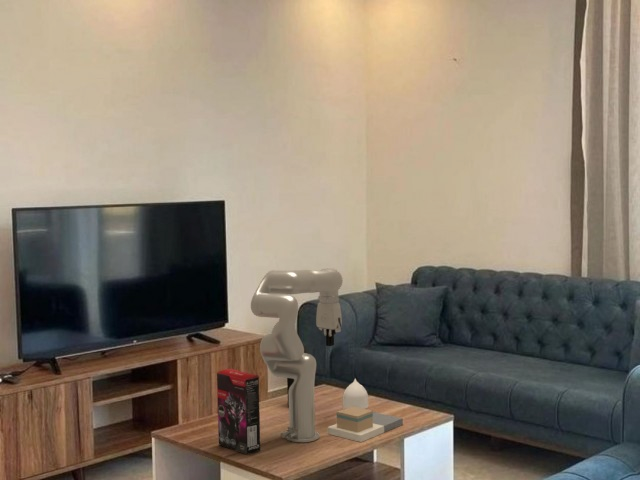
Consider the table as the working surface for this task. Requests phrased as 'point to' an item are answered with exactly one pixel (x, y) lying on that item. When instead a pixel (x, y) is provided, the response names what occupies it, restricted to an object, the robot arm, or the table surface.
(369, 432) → the grey and cream slab
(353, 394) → the teardrop
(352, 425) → the carton
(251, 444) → the graphics card box
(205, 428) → the table surface
